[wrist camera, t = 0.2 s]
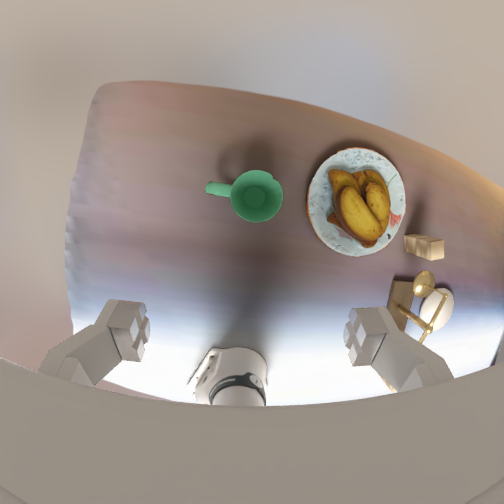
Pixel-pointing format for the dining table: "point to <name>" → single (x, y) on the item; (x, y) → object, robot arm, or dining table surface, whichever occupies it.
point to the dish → (431, 306)
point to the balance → (403, 299)
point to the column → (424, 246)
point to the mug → (251, 195)
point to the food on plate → (356, 201)
